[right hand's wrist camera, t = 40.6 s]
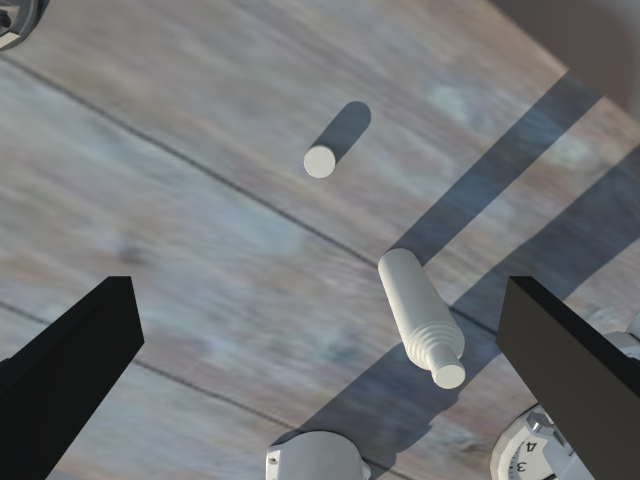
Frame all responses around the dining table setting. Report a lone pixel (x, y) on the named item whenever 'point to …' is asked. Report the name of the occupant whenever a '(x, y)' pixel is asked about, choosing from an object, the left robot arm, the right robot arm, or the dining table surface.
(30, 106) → the dining table surface
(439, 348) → the bottle
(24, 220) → the dining table surface
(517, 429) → the wall clock
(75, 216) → the dining table surface
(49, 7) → the dining table surface
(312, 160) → the cap
